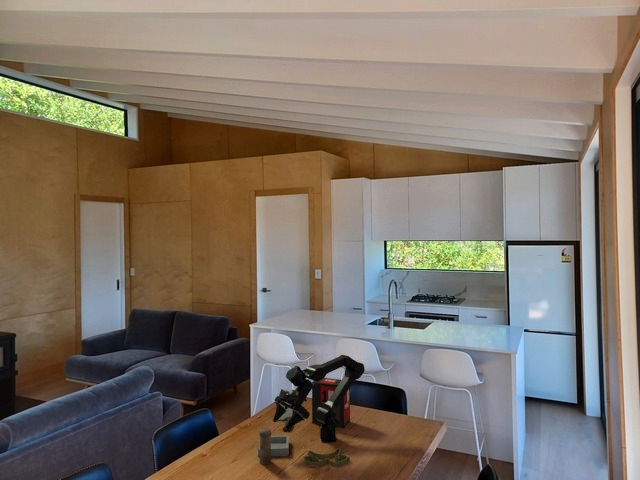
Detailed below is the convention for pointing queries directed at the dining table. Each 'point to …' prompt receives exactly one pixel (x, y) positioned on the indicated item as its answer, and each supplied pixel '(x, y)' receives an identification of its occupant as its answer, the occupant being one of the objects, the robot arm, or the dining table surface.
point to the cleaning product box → (323, 395)
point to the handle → (265, 446)
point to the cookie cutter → (326, 458)
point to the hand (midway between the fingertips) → (279, 425)
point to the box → (278, 446)
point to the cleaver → (286, 418)
